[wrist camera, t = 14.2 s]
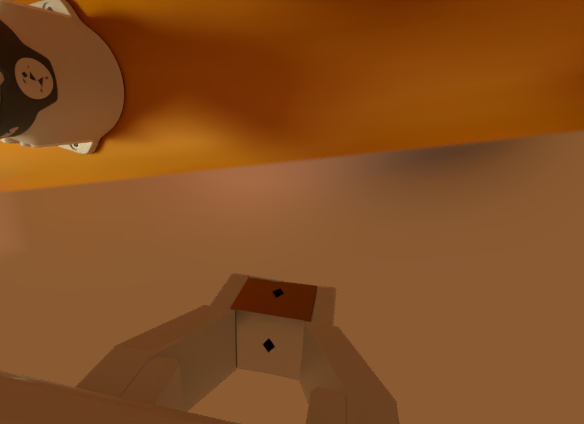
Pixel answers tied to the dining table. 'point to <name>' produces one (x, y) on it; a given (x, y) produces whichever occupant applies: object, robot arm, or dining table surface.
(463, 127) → the dining table surface
